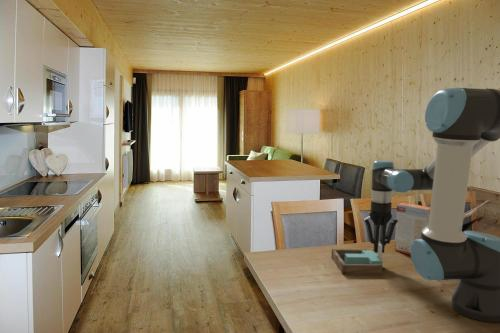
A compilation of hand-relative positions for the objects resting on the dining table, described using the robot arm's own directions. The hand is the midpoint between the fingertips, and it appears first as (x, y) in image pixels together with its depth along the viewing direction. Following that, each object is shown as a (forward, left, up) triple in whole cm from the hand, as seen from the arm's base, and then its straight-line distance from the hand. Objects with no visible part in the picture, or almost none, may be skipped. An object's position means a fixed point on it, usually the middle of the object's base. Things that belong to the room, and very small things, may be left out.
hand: (378, 260), depth 151 cm
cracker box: (+14, -20, -2) cm, 24 cm away
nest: (0, +9, -2) cm, 10 cm away
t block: (0, +7, -2) cm, 7 cm away
